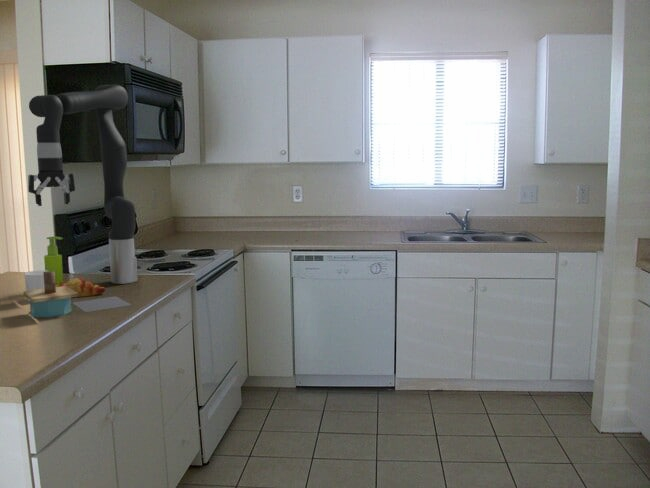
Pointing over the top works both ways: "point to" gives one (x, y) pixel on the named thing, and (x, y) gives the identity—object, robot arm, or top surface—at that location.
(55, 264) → the soap dispenser
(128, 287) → the top surface
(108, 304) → the mat
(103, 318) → the top surface
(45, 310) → the bowl
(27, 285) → the white cup
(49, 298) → the lid
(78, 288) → the croissant
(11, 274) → the top surface
